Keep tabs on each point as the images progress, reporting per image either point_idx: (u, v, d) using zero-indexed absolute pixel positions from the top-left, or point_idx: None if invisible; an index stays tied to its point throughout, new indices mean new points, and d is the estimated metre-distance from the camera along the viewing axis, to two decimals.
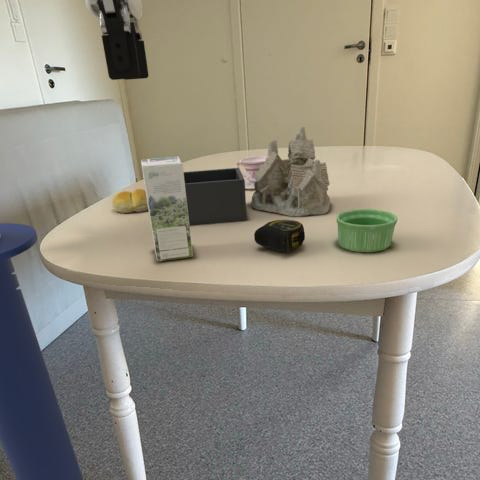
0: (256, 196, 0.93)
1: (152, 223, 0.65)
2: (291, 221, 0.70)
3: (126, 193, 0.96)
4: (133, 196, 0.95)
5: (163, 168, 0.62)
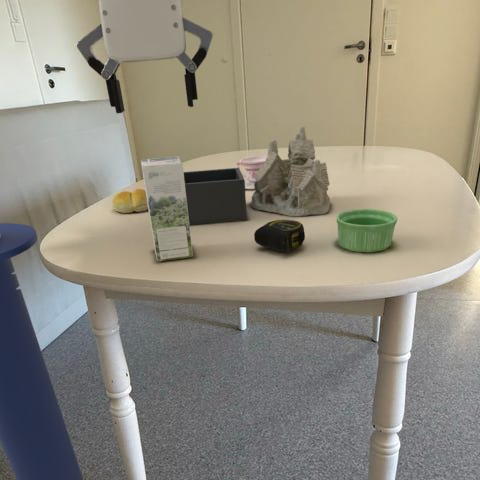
0: (256, 196, 0.93)
1: (152, 223, 0.65)
2: (291, 221, 0.70)
3: (126, 193, 0.96)
4: (133, 196, 0.95)
5: (163, 168, 0.62)
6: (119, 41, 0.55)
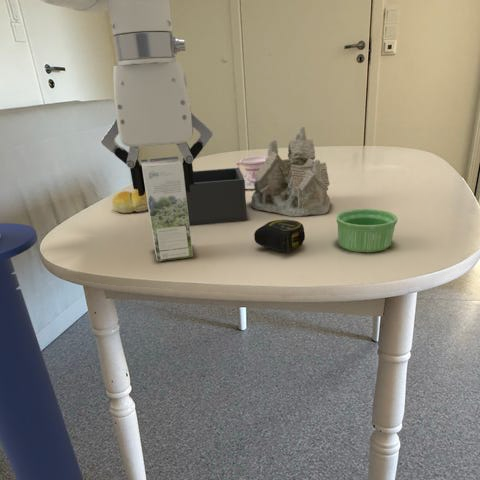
0: (256, 196, 0.93)
1: (152, 223, 0.65)
2: (291, 221, 0.70)
3: (126, 193, 0.96)
4: (133, 196, 0.95)
5: (163, 168, 0.62)
6: (132, 131, 0.60)
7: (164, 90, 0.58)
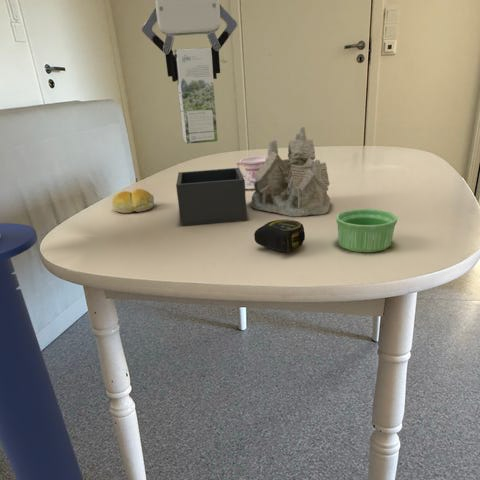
0: (256, 196, 0.93)
1: (183, 105, 0.75)
2: (291, 221, 0.70)
3: (126, 193, 0.96)
4: (133, 196, 0.95)
5: (195, 53, 0.72)
6: (169, 17, 0.70)
7: None
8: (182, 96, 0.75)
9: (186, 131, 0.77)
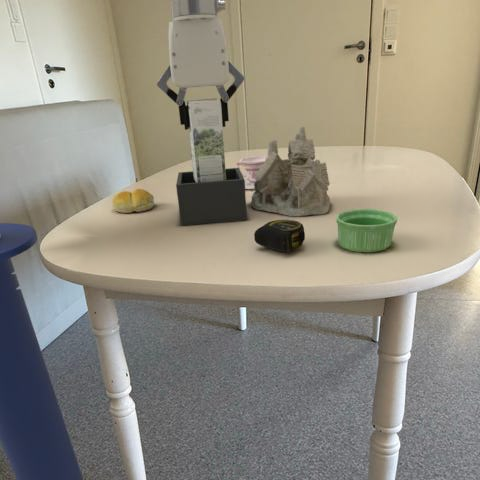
0: (256, 196, 0.93)
1: (195, 151, 0.82)
2: (291, 221, 0.70)
3: (126, 193, 0.96)
4: (133, 196, 0.95)
5: (206, 105, 0.78)
6: (182, 74, 0.77)
7: (209, 41, 0.74)
8: (194, 143, 0.81)
9: (197, 174, 0.84)
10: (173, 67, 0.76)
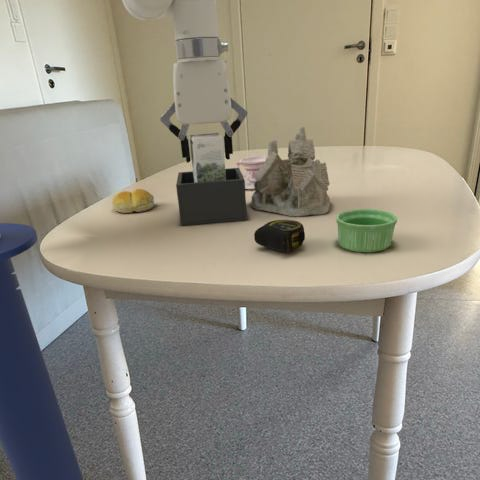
0: (256, 196, 0.93)
1: None
2: (291, 221, 0.70)
3: (126, 193, 0.96)
4: (133, 196, 0.95)
5: (208, 141, 0.81)
6: (186, 112, 0.79)
7: (212, 81, 0.77)
8: (197, 176, 0.84)
9: None
10: (177, 105, 0.79)
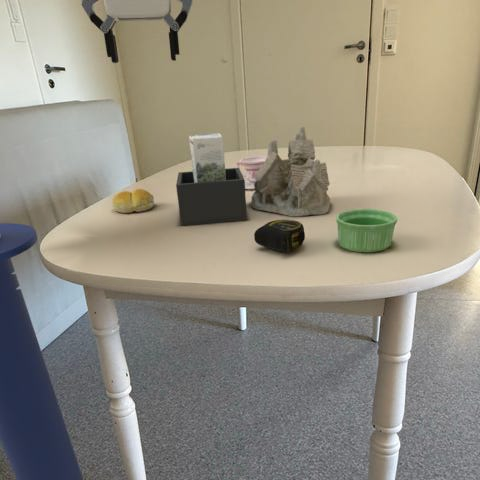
0: (256, 196, 0.93)
1: None
2: (291, 221, 0.70)
3: (126, 193, 0.96)
4: (133, 196, 0.95)
5: (208, 141, 0.81)
6: (116, 1, 0.68)
7: None
8: (197, 176, 0.84)
9: None
10: None
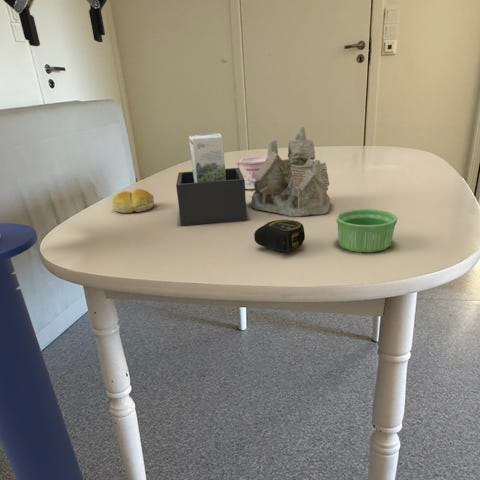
0: (256, 196, 0.93)
1: None
2: (291, 221, 0.70)
3: (126, 193, 0.96)
4: (133, 196, 0.95)
5: (208, 141, 0.81)
6: None
7: None
8: (197, 176, 0.84)
9: None
10: None
